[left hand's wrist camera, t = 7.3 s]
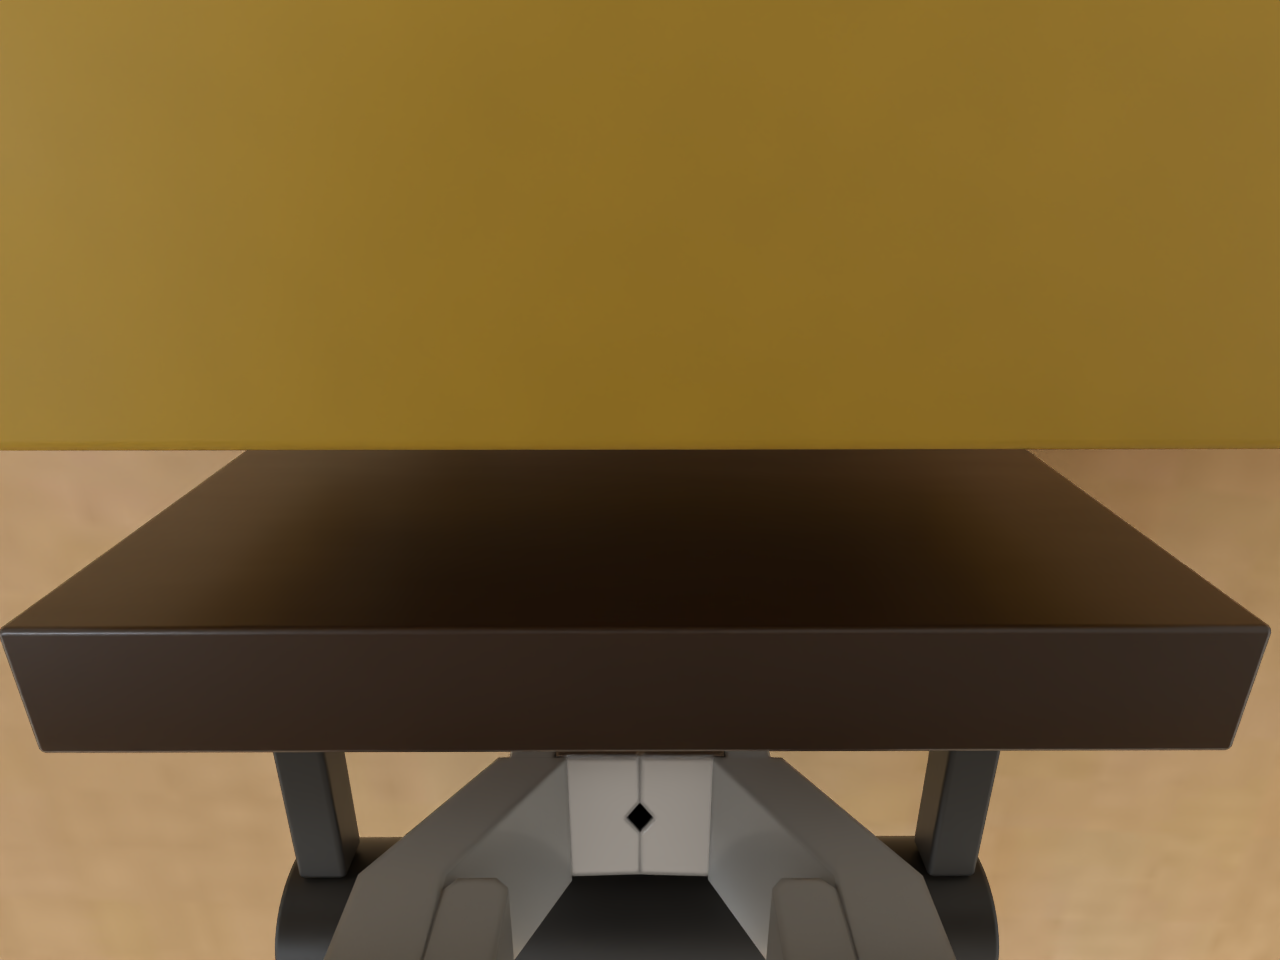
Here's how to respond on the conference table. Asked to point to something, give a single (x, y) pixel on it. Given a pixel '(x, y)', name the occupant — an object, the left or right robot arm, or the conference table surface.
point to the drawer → (634, 642)
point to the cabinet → (639, 224)
